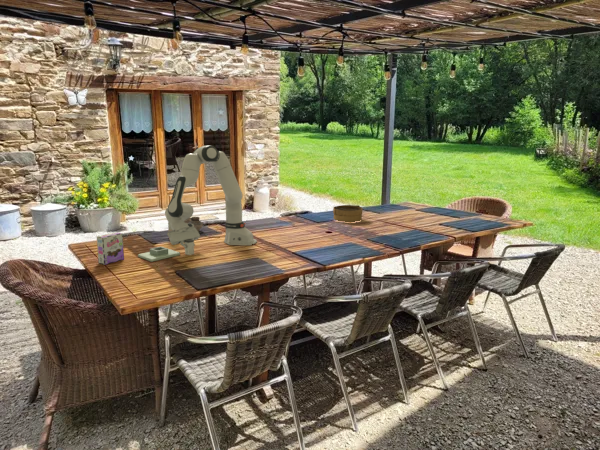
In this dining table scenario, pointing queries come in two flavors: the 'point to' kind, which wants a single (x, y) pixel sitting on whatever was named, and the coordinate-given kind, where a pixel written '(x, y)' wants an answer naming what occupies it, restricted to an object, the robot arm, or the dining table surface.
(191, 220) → the pottery
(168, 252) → the holder plate
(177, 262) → the dining table surface
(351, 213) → the steamer basket
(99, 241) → the candy box
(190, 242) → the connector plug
